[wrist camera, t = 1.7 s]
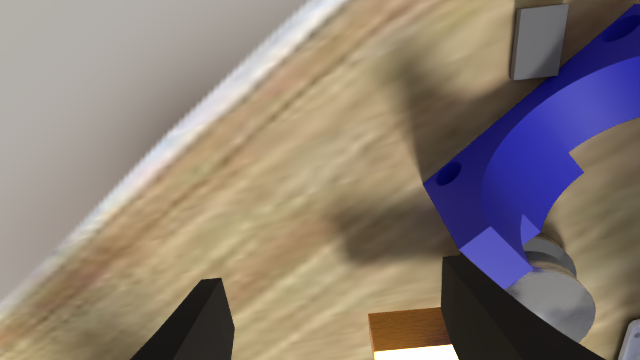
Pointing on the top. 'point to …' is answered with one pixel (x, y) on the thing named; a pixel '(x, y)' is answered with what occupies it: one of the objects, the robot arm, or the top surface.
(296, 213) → the top surface
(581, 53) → the cable clip
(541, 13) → the grey block
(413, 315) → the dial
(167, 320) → the robot arm
